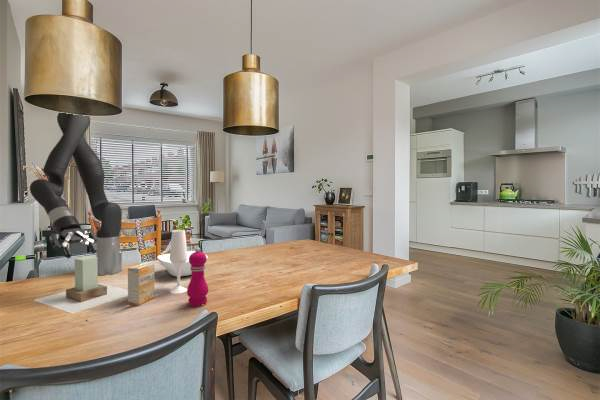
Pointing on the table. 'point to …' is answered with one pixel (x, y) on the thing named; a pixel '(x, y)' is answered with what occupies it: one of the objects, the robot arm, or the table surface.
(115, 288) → the grey board
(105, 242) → the robot arm
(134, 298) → the supplement box
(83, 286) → the sage block
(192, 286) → the pepper mill
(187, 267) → the bowl
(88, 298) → the walnut plinth
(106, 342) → the table surface
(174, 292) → the champagne flute
